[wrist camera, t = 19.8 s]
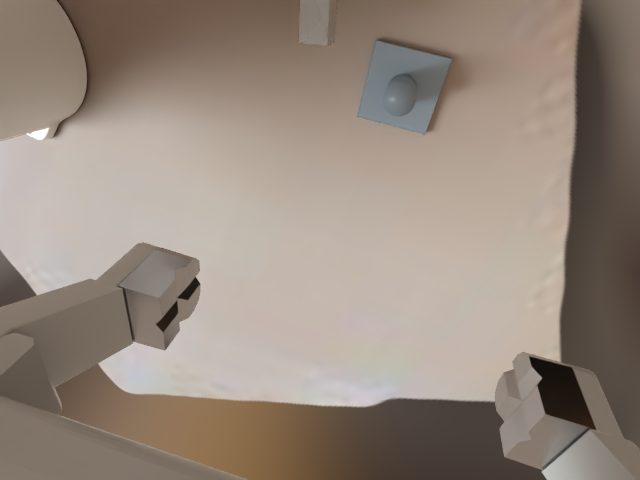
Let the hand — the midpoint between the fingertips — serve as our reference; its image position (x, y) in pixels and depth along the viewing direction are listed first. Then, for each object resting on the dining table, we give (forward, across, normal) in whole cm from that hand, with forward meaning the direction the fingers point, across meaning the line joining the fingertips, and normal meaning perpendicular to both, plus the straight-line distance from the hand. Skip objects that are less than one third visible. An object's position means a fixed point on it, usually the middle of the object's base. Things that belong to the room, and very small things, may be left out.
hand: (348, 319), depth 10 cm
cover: (+27, 0, 0) cm, 27 cm away
